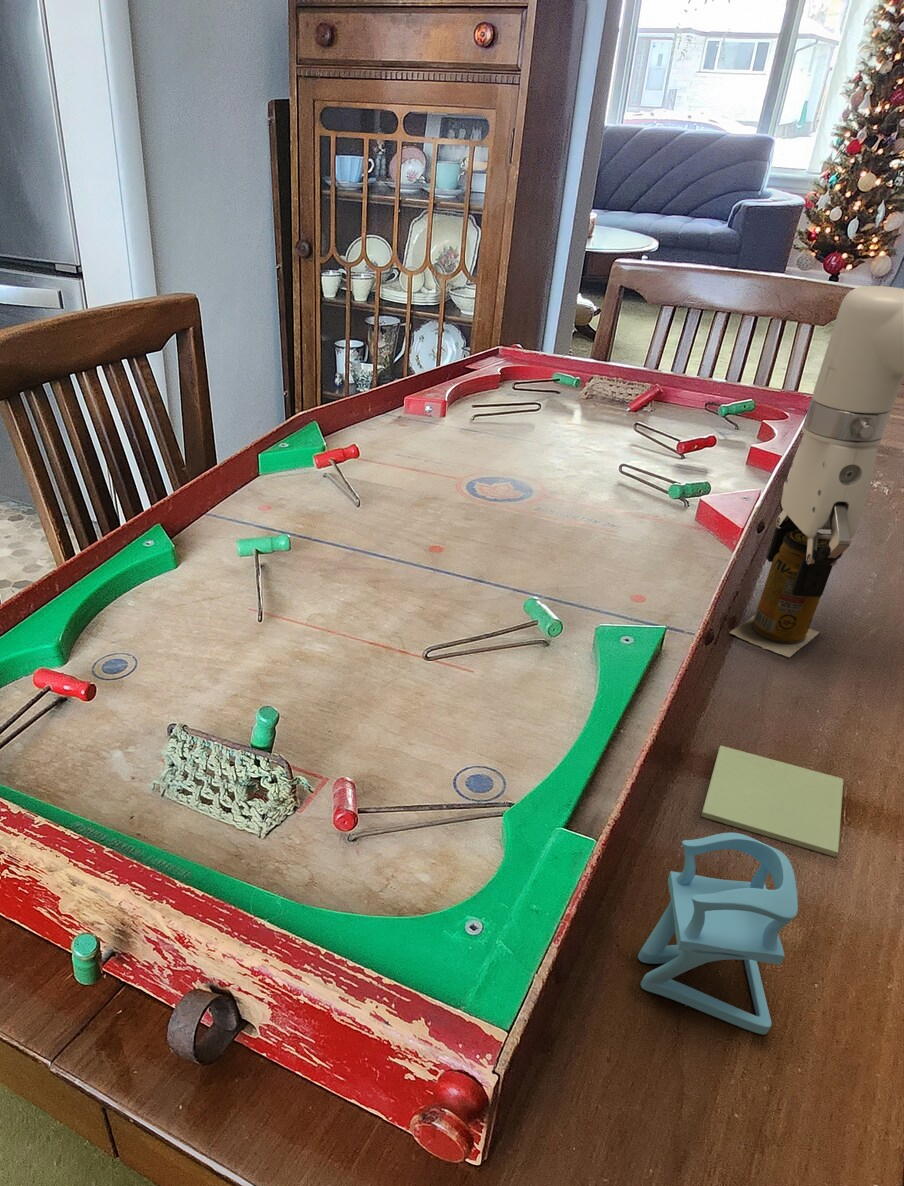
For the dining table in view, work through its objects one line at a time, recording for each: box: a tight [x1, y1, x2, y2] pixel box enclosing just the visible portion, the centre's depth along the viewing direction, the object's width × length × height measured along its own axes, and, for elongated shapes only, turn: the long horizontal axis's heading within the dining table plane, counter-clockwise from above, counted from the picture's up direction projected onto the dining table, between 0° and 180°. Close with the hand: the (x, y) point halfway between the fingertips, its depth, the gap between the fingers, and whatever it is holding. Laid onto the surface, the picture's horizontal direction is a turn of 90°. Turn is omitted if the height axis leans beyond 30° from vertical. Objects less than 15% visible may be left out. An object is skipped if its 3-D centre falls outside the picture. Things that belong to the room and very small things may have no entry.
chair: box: [637, 832, 799, 1036], centre depth 61 cm, size 8×8×12 cm
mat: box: [700, 745, 844, 858], centre depth 81 cm, size 11×11×1 cm
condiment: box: [729, 530, 828, 658], centre depth 103 cm, size 7×8×12 cm
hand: (792, 577), depth 102 cm, fingers open, 7 cm apart
